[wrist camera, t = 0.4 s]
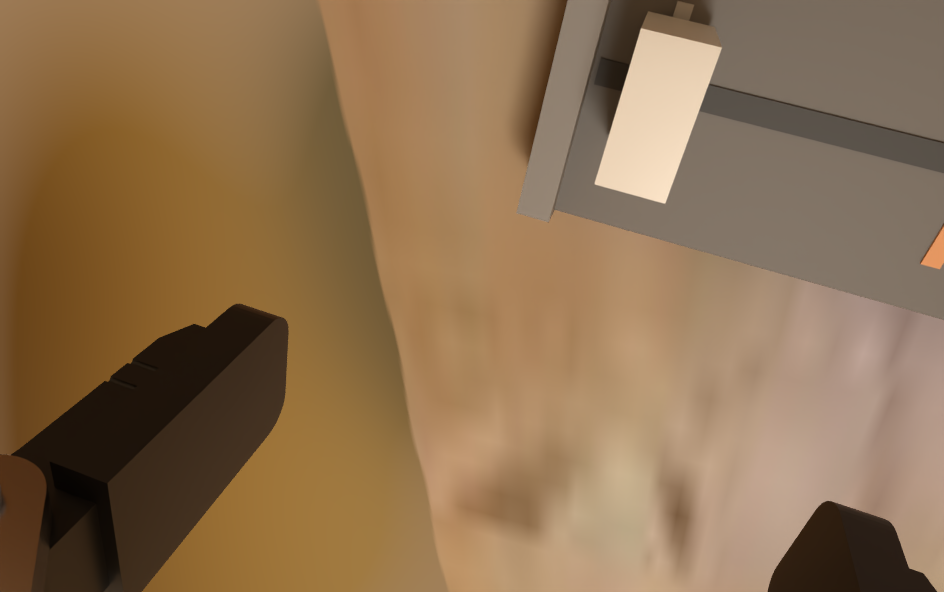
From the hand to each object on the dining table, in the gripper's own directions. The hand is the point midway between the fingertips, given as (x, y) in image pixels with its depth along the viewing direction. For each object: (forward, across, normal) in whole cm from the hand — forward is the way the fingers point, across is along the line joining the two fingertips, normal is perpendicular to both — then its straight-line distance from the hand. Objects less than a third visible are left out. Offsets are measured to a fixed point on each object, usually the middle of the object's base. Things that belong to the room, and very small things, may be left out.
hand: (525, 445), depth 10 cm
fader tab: (+19, -1, -1) cm, 19 cm away
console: (+23, -8, -2) cm, 24 cm away
